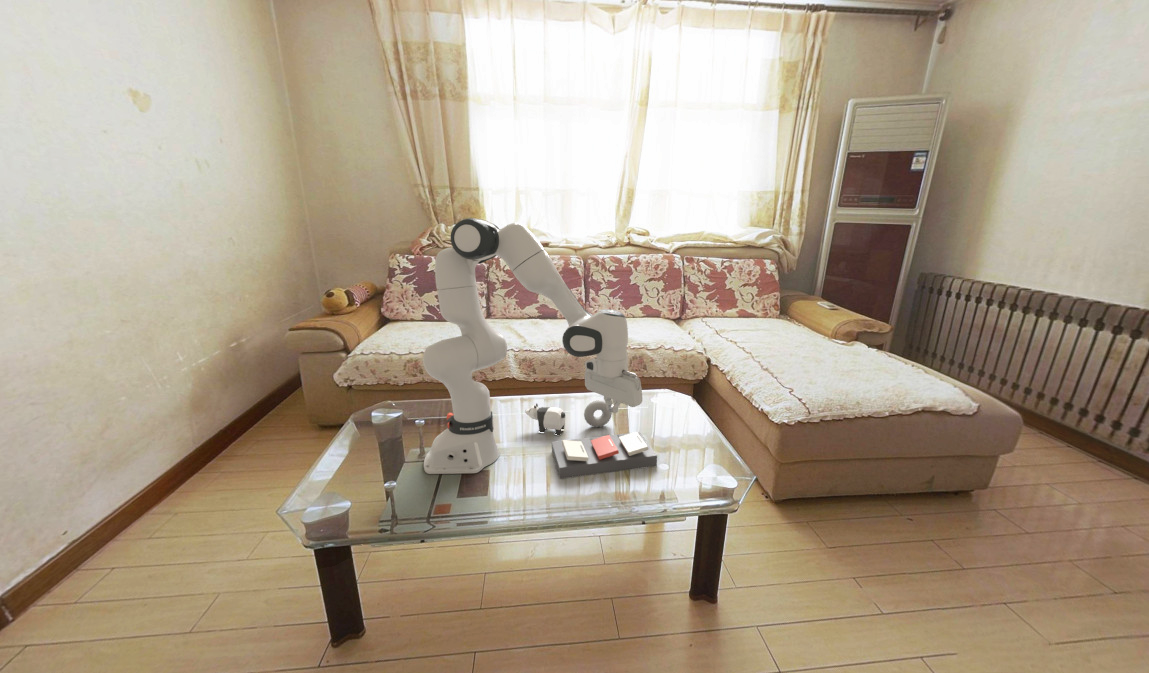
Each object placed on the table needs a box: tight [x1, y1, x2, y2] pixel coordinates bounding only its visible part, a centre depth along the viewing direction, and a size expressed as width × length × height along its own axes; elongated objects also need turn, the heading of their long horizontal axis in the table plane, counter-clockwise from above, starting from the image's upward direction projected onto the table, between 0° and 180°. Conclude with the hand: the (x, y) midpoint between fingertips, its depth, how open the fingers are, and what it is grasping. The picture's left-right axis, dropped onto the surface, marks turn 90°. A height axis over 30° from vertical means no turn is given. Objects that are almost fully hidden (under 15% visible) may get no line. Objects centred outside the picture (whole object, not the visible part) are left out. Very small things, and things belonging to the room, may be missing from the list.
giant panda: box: [524, 402, 566, 436], centre depth 145 cm, size 15×6×10 cm, turn 72°
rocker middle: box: [591, 434, 619, 460], centre depth 125 cm, size 6×10×1 cm, turn 12°
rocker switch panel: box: [551, 431, 658, 480], centre depth 128 cm, size 29×15×4 cm, turn 101°
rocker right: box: [619, 431, 648, 456], centre depth 127 cm, size 6×10×1 cm, turn 12°
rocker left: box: [561, 439, 589, 461], centre depth 123 cm, size 6×10×1 cm, turn 11°
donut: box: [583, 399, 613, 428], centre depth 148 cm, size 10×3×10 cm, turn 101°
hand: (612, 411), depth 123 cm, fingers closed
